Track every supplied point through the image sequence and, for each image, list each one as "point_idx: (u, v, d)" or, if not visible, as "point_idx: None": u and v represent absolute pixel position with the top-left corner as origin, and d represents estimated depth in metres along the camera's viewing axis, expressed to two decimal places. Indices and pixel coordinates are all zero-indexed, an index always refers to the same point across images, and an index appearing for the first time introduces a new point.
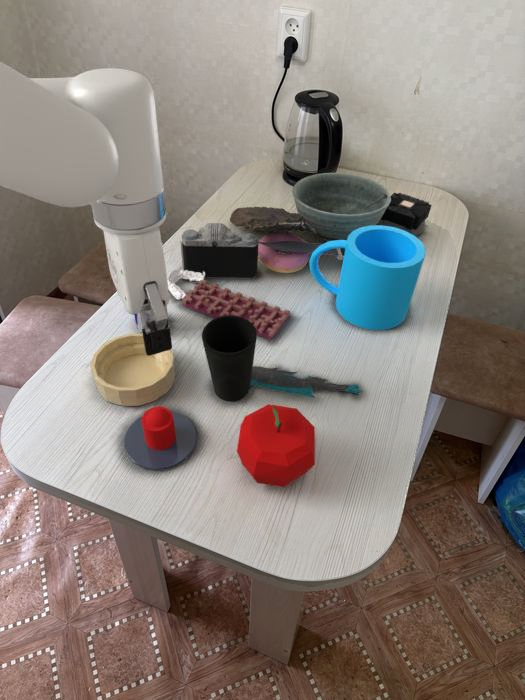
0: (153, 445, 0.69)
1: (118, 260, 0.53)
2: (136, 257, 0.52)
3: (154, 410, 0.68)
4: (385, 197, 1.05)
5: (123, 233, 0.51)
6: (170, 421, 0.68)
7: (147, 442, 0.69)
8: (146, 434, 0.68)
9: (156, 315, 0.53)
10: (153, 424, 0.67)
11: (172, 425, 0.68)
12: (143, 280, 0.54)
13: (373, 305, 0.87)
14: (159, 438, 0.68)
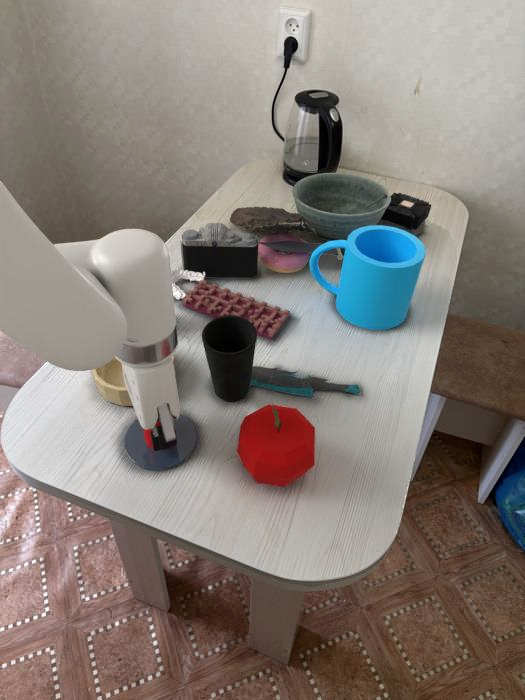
0: None
1: (134, 387, 0.57)
2: (151, 387, 0.57)
3: None
4: (385, 197, 1.05)
5: (139, 367, 0.56)
6: None
7: (147, 442, 0.69)
8: (146, 434, 0.68)
9: (167, 438, 0.60)
10: None
11: None
12: (157, 403, 0.58)
13: (373, 305, 0.87)
14: None
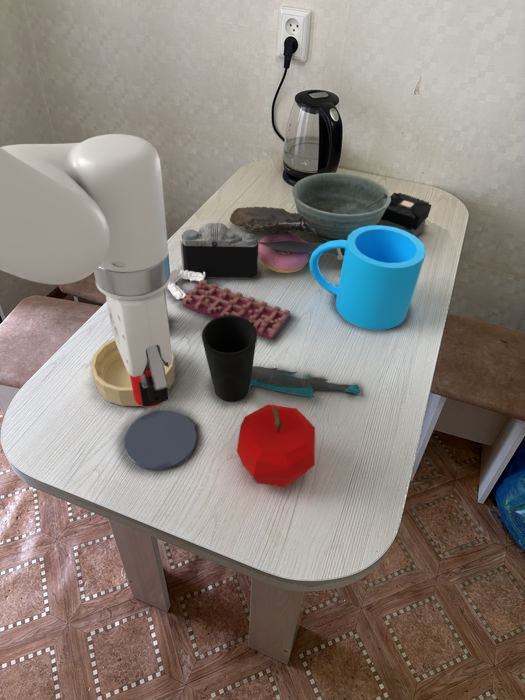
0: None
1: (120, 325, 0.51)
2: (139, 323, 0.50)
3: None
4: (385, 197, 1.05)
5: (126, 299, 0.49)
6: None
7: (135, 398, 0.63)
8: (134, 388, 0.61)
9: (156, 385, 0.54)
10: None
11: None
12: (146, 344, 0.52)
13: (373, 305, 0.87)
14: None
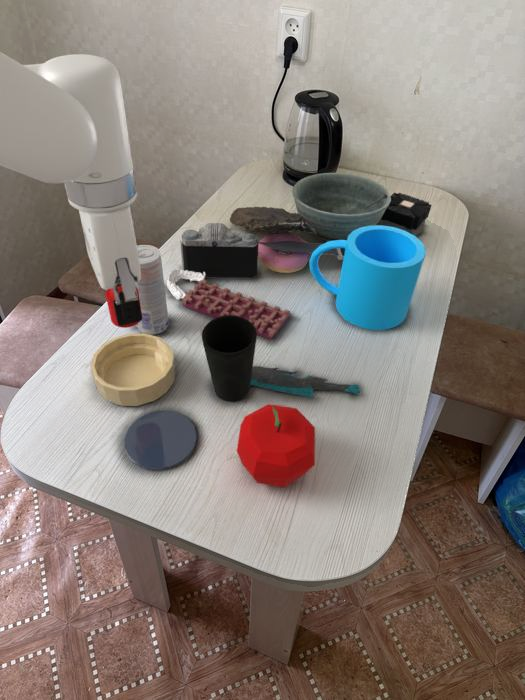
0: None
1: (90, 237, 0.56)
2: (107, 234, 0.55)
3: None
4: (385, 197, 1.05)
5: (94, 211, 0.54)
6: None
7: (112, 319, 0.68)
8: (110, 308, 0.66)
9: (126, 296, 0.59)
10: None
11: None
12: (115, 256, 0.57)
13: (373, 305, 0.87)
14: None
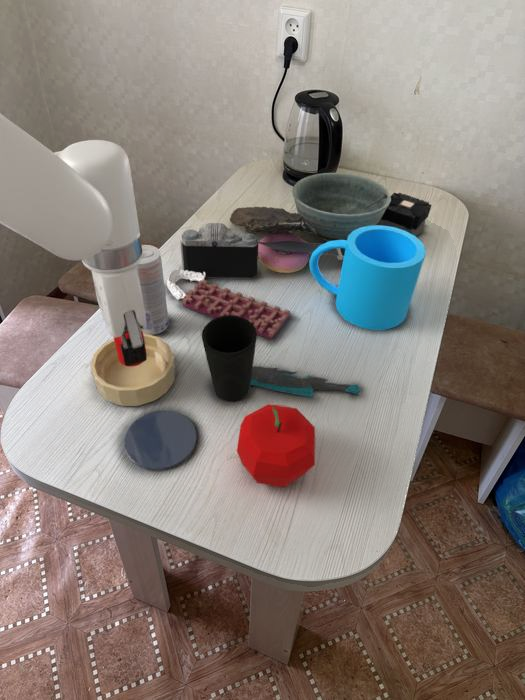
0: None
1: (102, 293, 0.63)
2: (117, 291, 0.62)
3: None
4: (385, 197, 1.05)
5: (105, 272, 0.61)
6: None
7: (119, 359, 0.75)
8: (118, 350, 0.73)
9: (133, 344, 0.66)
10: None
11: None
12: (123, 310, 0.64)
13: (373, 305, 0.87)
14: None
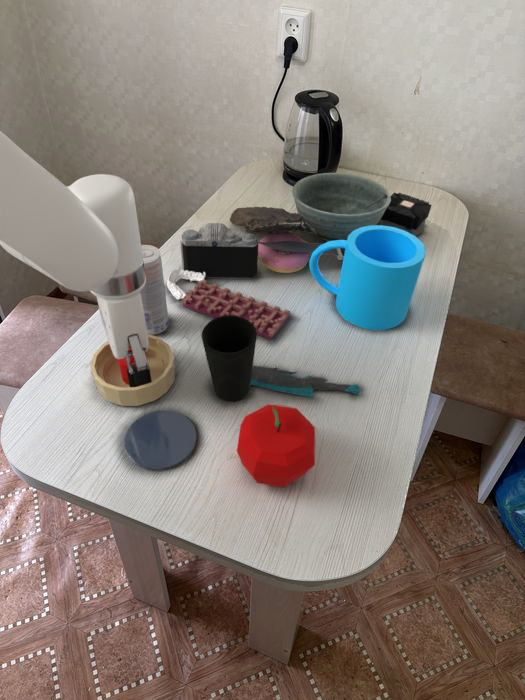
0: None
1: (107, 318, 0.66)
2: (121, 316, 0.65)
3: (129, 348, 0.76)
4: (385, 197, 1.05)
5: (110, 298, 0.64)
6: None
7: (123, 378, 0.78)
8: (122, 370, 0.76)
9: (137, 364, 0.67)
10: None
11: None
12: (127, 333, 0.67)
13: (373, 305, 0.87)
14: None
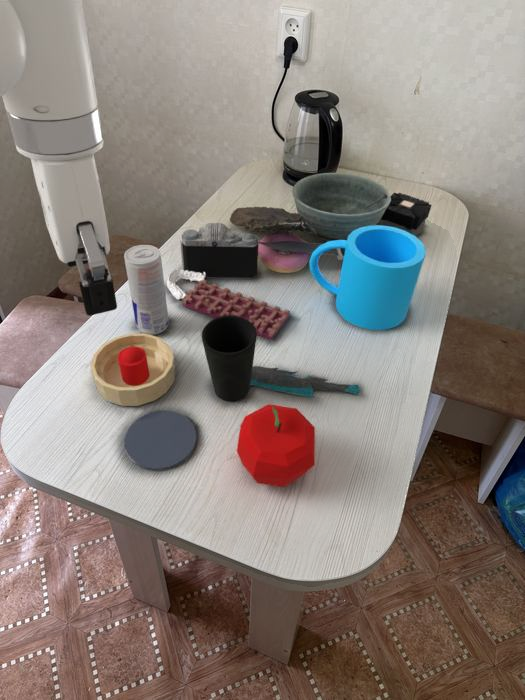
0: (128, 380, 0.77)
1: (44, 193, 0.44)
2: (65, 189, 0.44)
3: (129, 348, 0.76)
4: (385, 197, 1.05)
5: (48, 159, 0.43)
6: (143, 358, 0.76)
7: (123, 378, 0.78)
8: (122, 370, 0.76)
9: (90, 260, 0.45)
10: (128, 360, 0.75)
11: (145, 362, 0.77)
12: (75, 219, 0.46)
13: (373, 305, 0.87)
14: (134, 373, 0.76)
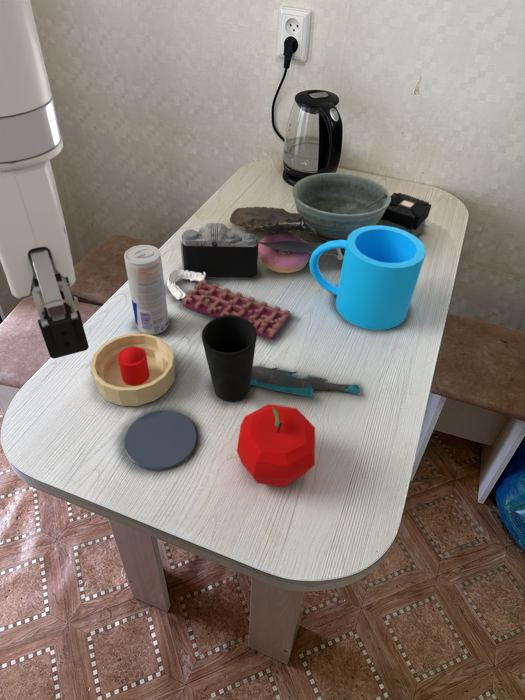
0: (128, 380, 0.77)
1: None
2: (9, 207, 0.34)
3: (129, 348, 0.76)
4: (385, 197, 1.05)
5: None
6: (143, 358, 0.76)
7: (123, 378, 0.78)
8: (122, 370, 0.76)
9: (45, 298, 0.35)
10: (128, 360, 0.75)
11: (145, 362, 0.77)
12: (26, 245, 0.36)
13: (373, 305, 0.87)
14: (134, 373, 0.76)
